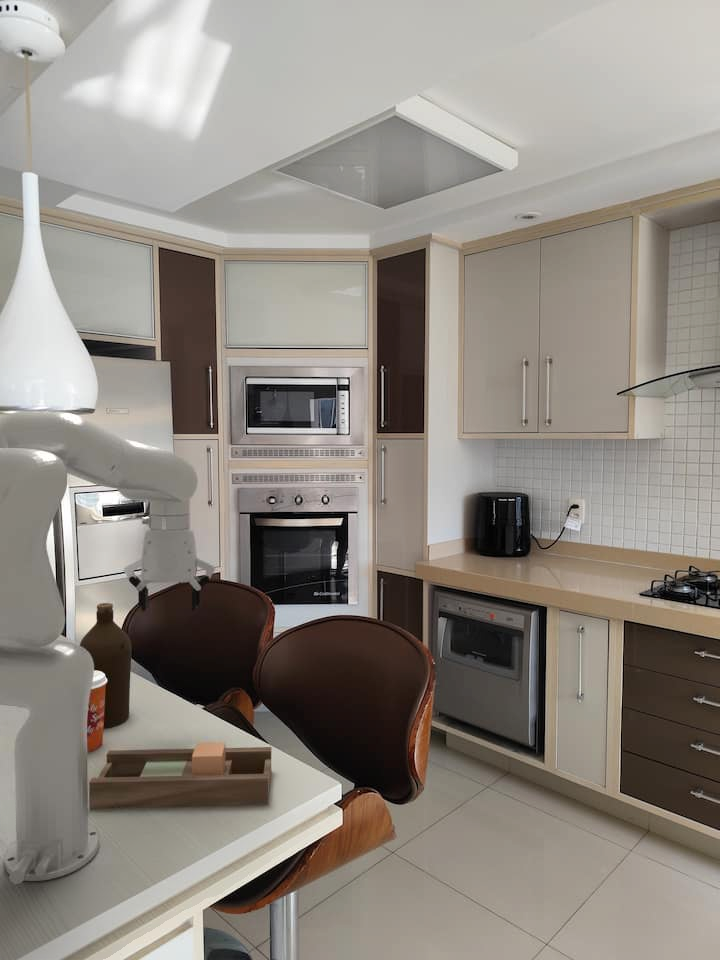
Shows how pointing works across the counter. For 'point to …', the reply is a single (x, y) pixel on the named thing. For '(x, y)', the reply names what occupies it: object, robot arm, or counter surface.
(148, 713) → the counter surface
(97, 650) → the olive oil
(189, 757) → the box
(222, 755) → the block
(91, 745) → the paper cup
